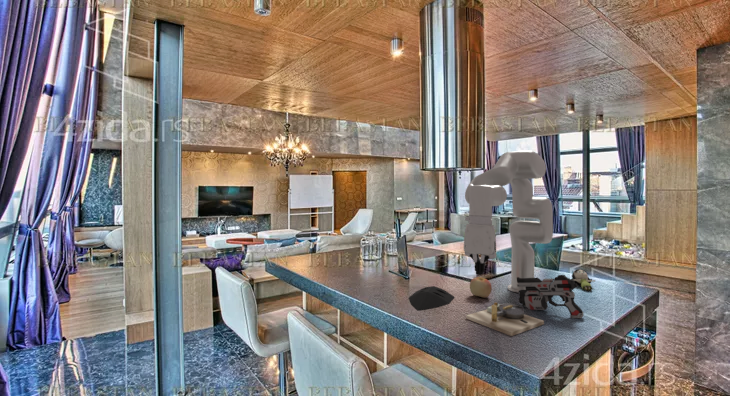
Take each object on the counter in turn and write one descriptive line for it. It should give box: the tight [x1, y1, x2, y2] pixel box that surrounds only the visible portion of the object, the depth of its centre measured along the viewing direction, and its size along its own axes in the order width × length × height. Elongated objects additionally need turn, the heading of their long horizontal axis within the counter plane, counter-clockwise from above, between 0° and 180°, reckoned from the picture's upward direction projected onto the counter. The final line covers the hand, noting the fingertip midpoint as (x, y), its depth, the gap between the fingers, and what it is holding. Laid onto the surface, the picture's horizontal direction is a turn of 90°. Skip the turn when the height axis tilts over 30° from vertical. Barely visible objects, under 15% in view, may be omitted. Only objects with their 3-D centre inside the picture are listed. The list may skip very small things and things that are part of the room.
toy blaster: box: [517, 274, 585, 319], centre depth 132 cm, size 4×21×15 cm, turn 51°
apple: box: [469, 276, 493, 298], centre depth 151 cm, size 9×9×8 cm
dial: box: [491, 302, 525, 321], centre depth 123 cm, size 14×8×5 cm, turn 123°
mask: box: [408, 285, 456, 312], centre depth 147 cm, size 17×5×30 cm
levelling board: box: [465, 302, 545, 337], centre depth 123 cm, size 18×18×4 cm
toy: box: [571, 268, 596, 292], centre depth 166 cm, size 10×7×15 cm
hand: (479, 273), depth 122 cm, fingers closed
